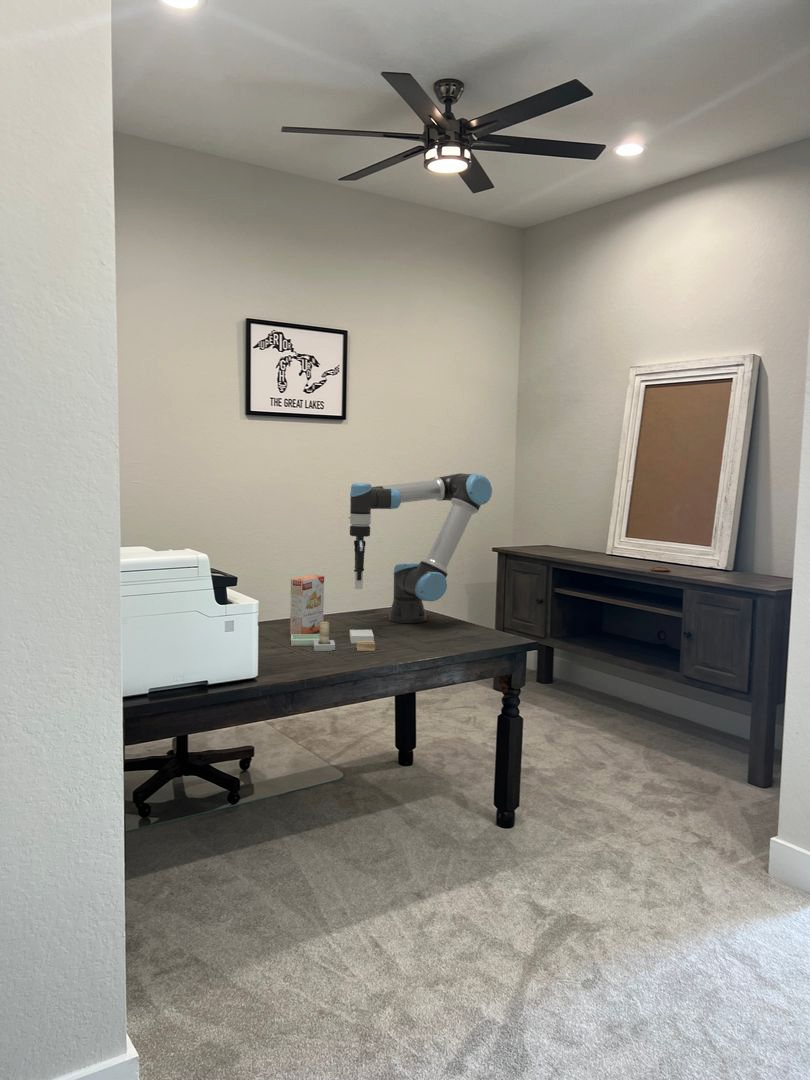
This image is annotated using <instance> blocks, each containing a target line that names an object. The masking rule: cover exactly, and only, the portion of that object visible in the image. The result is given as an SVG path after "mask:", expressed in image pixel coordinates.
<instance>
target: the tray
mask: <svg viewBox="0 0 810 1080" xmlns="http://www.w3.org/2000/svg"><path fill="white" fill-rule="evenodd" d="M314 640H320V633H311V634H291V635H290V646H291V647H314V646H313V645H314Z"/></svg>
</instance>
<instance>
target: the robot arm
mask: <svg viewBox="0 0 810 1080" xmlns="http://www.w3.org/2000/svg"><path fill="white" fill-rule="evenodd" d="M492 493H493V488H492V484H491V482H490V479H489V478H487V477H486V476H484V475H482V474H479V473H453V474H449V475H444V476H437V477H435V478H434V479H433V480H424V481H415V482H414V481H413V482H405V483H398V484H397V483H395V484H388V485H378V486H376V485H375V486H372V484H371V483H367V482H364V483H363V482H355V483H352V484H351V486H350V495H349V497H350V499H349V500H350V506H349V507H350V508H349V509H350V510H349V516H348V519H349V524H350V526H349V536H350V537H355V540H353V546H354V569H353V572H354V589H355V590H363V589H364V588H363V586H364V585H363V584H364V581H363V580H364V571H365V567H364V566H365V565H364V564H365V552H366V540H364V539H365V537H366V538H367V537H370V536H371V526H370V525H371V522H372V521H371V520H372V519H371V517H372V513H371V512H372V511H371V510H392V509H394V510H395V509H399V507H400V506H401V503H402V504H404V503H411V502H418V501H419V502H421V501H427V500H436V501H438V502H440V501H441V502H442V501H448V502H449V501H450V502H451V503H452V506H451V507H450V509H449V512H448V514H447V515H446V518H445V519H444V522H443V524H442V526H441V527H440V530H439V533H438V534H437V536H436V538H435V541H434V542H433V545H432V547H431V549H430V551H429V553H428V554H427V557H426V559H422V560H420V561H419V562H418V563H417V562H416V563H399V564H398V563H397V564H396V565H394V569H393V599H392V600H393V601H392V604H391V607H390V610H389V614H388V620H389V621H390V622H394V623H401V624H418V623H424V622H426V621H427V613H426V610H425V606H424V603H423V601H425V602H435V601H438V600H440V599H441V598H442V597H443V596H444V594H445V593H446V591H447V588H448V583H447V579H446V578H447V576H448V574H449V573H448V571H447V568H448V565H450V564H449V563H450V561H451V560H452V557H453V555H454V553H455V551H456V549H457V547H458V545H459V543H460V540H461V538H462V537H463V535H464V532H465V530H466V528H467V526H468V524H469V522H470V521H471V518H472V516H473V515H475V514H477V513H479V510H480V508H481V506H482V505H485V504H487V503H488V502H489V501H490V500H491V497H492V495H493V494H492Z"/></svg>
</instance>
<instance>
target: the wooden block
mask: <svg viewBox="0 0 810 1080" xmlns="http://www.w3.org/2000/svg"><path fill="white" fill-rule="evenodd" d="M355 644H356V647H355V649H356V648H357V649H356V650H357V652H371V651H372V652H373V651H376V642H375V640H374V641H356V643H355Z"/></svg>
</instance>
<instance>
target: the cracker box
mask: <svg viewBox="0 0 810 1080" xmlns="http://www.w3.org/2000/svg"><path fill="white" fill-rule="evenodd" d="M324 605H325V575H319V574H310V575H305V576H298V577H295V578H291V579H290V610H289V611H290V612H289V615H290V617H289V618H290V619H289V635H290V636H291V634H315V633H316V632H317V633H318V632H320V622H324V608H325V607H324Z"/></svg>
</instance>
